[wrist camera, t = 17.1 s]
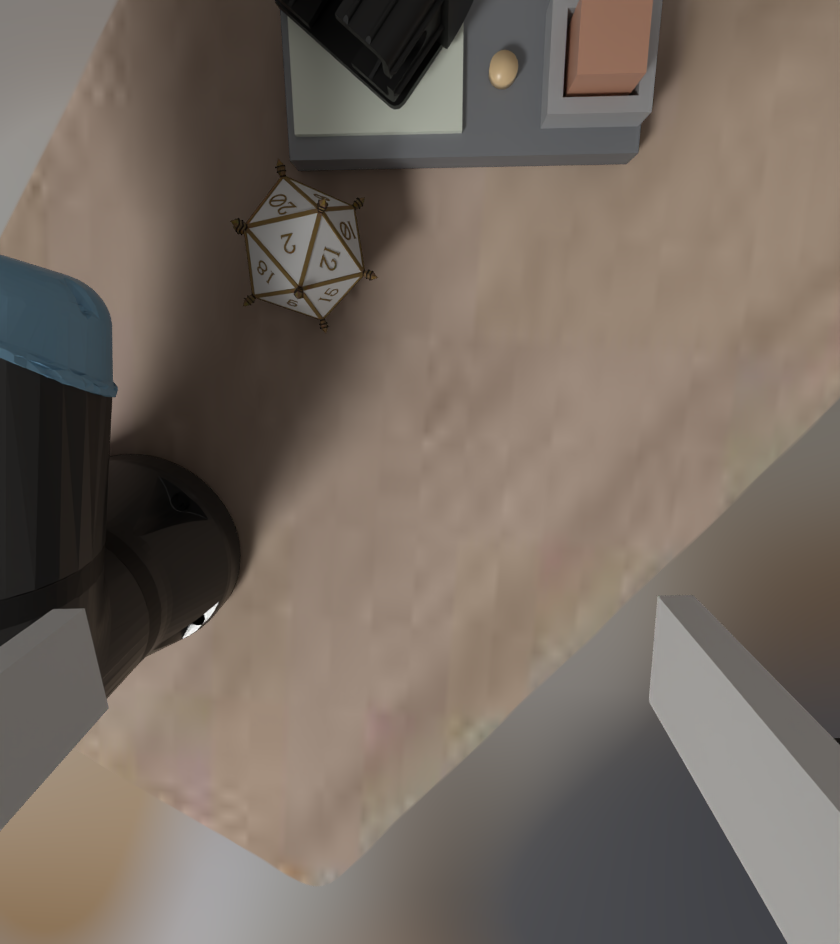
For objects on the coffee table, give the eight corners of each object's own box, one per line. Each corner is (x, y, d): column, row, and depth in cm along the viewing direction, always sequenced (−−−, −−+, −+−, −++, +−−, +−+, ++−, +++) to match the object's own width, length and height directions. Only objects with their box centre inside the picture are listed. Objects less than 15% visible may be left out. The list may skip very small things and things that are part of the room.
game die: (304, 270, 38) (174, 219, 30) (376, 182, 34) (246, 95, 26) (345, 365, 36) (215, 337, 28) (429, 283, 31) (302, 221, 23)
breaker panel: (298, 170, 33) (279, 149, 29) (280, -133, 29) (255, -205, 25) (626, 164, 32) (651, 140, 28) (654, -150, 28) (688, -228, 24)
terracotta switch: (561, 104, 30) (577, 74, 26) (565, 32, 29) (582, -8, 25) (622, 102, 29) (646, 72, 26) (628, 30, 28) (654, -11, 25)
